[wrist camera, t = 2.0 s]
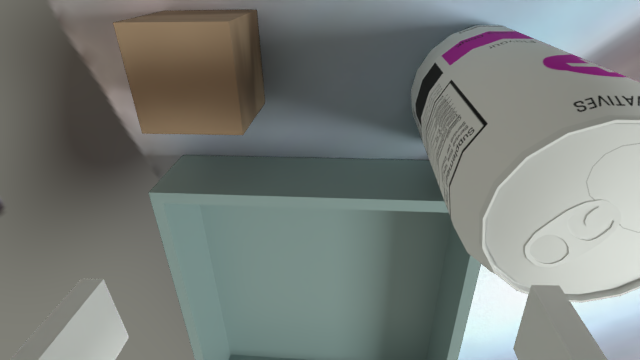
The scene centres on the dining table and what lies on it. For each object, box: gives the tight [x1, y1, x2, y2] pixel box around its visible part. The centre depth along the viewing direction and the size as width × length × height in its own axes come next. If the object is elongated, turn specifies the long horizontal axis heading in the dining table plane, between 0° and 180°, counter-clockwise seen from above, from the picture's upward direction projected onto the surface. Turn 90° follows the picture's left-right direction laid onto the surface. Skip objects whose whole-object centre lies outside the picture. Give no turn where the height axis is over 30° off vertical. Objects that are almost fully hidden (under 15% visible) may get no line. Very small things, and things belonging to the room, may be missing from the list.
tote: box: [149, 155, 481, 360], centre depth 32 cm, size 24×22×6 cm
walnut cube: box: [113, 10, 265, 135], centre depth 23 cm, size 6×6×6 cm
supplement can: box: [411, 25, 640, 303], centre depth 19 cm, size 8×8×15 cm
